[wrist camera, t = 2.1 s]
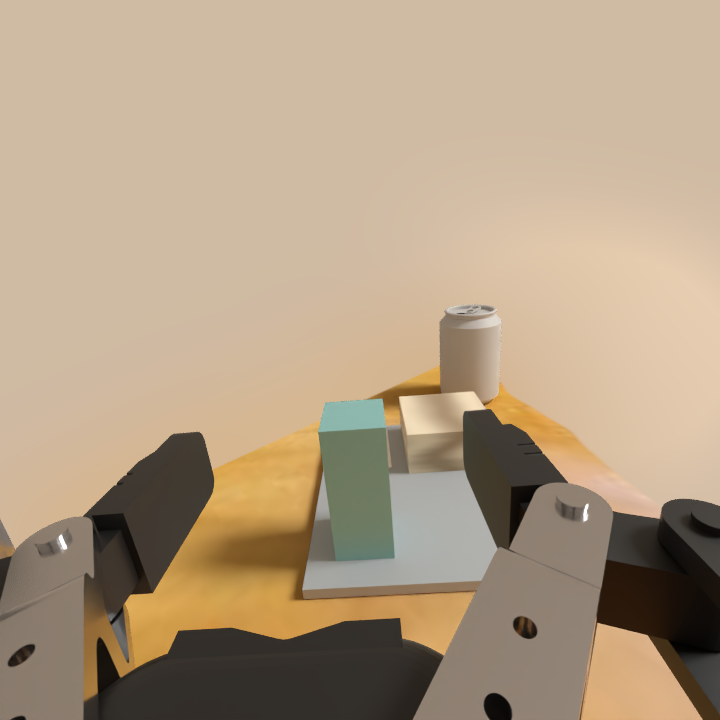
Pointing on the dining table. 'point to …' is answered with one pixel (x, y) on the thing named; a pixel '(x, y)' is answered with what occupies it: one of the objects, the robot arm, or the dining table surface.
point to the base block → (435, 430)
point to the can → (470, 351)
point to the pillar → (357, 479)
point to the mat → (408, 538)
